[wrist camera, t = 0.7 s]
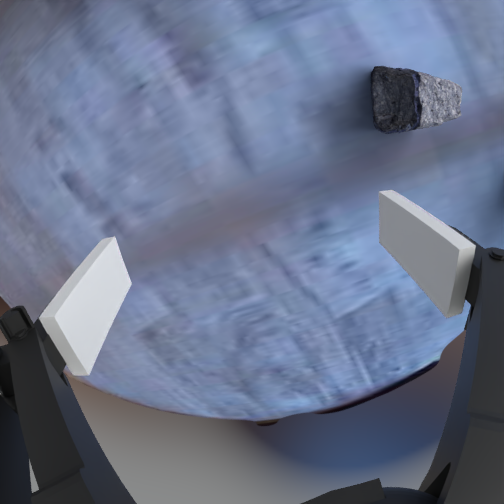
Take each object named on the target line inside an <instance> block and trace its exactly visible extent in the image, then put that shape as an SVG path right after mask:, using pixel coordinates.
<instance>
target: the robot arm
mask: <svg viewBox="0 0 504 504" xmlns="http://www.w3.org/2000/svg"><path fill="white" fill-rule="evenodd" d="M379 243H380V244H381V245H382V246H383V247H384V248H385V249H386V250H387V251H388V252H389V253H390V254H391V256H392V257H393V258H394V259H395V260H396V261H397V262H398V263H399V264H400V265H401V266H402V267H403V269H404V270H405V271H406V272H407V273H408V274H409V275H410V276H411V277H412V279H413V280H414V281H415V282H416V283H417V284H418V285H419V287H420V288H421V289H422V290H423V291H424V292H425V293H426V295H427V296H428V297H429V298H430V299H431V300H432V302H433V303H434V304H435V305H436V306H437V308H438V309H439V310H440V311H441V312H442V314H443V315H444V316H445V317H446V318H449V317H452V316H455V315H458V314H461V313H462V311H463V307H464V303H465V299H466V300H467V301H468V302H469V303H470V304H471V307H470V311H469V314H468V318H467V321H466V325H465V328H464V330H466V337H465V343H464V349H463V354H462V360H461V365H460V370H459V374H458V379H457V383H456V387H455V392H454V396H453V399H452V403H451V407H450V410H449V414H448V417H447V421H446V424H445V427H444V430H443V434H442V437H441V440H440V443H439V445H438V448H437V451H436V454H435V457H434V459H433V462H432V465H431V467H430V469H429V472H428V473H427V475H426V477H425V479H424V480H423V482H422V484H421V486H420V488H419V490H414V489H408V488H400V487H396V488H395V487H385V488H382V486H381V482H380V480H379V478H378V479H375V480H371V481H368V482H365V483H361V484H357V485H353V486H350V487H345V488H341V489H337V490H333V491H330V492H327V493H325V494H323V495H321V496H318V497H316V498H314V499H311V500H309V501H306V502H304V503H301V504H504V250H503V249H499V248H492V247H491V248H486V249H484V248H483V247H481V246H480V245H479V244H477V243H476V242H475V241H473V240H472V239H469V237H468V236H466V235H465V234H463V233H462V232H460V231H459V230H458V229H456V228H454V227H451V226H449V225H446V224H445V223H443V222H442V221H440V220H439V219H437V218H436V217H434V216H433V215H431V214H430V213H428V212H427V211H425V210H424V209H422V208H421V207H419V206H418V205H416V204H414V203H413V202H411V201H410V200H408V199H406V198H405V197H403V196H402V195H400V194H398V193H397V192H395V191H393V190H387V191H379ZM131 284H132V283H131V281H130V278H129V275H128V273H127V270H126V267H125V264H124V262H123V259H122V256H121V253H120V250H119V247H118V244H117V241H116V238H115V237H110V238H105V239H102V240H101V241H100V242H99V243H98V244H97V246H96V247H95V248H94V249H93V250H92V251H91V252H90V254H89V255H88V256H87V257H86V258H85V260H84V261H83V262H82V263H81V264H80V266H79V267H78V268H77V269H76V270H75V272H74V273H73V274H72V275H71V276H70V278H69V279H68V280H67V281H66V283H65V284H64V285H63V287H62V288H61V289H60V290H59V292H58V293H57V294H56V295H55V296H54V297H53V299H52V300H51V301H50V303H49V304H48V305H47V307H46V308H45V310H44V311H43V312H42V313H41V315H40V316H39V317H38V319H37V320H36V322H35V323H34V324H33V322H32V320H31V319H30V317H29V315H28V313H27V311H26V309H25V308H24V306H16V307H14V308H11V309H10V310H8V311H7V312H5V313H4V314H3V315H2V316H1V317H0V329H1V331H2V333H3V334H4V336H5V338H6V339H7V341H8V344H7V345H4V346H0V393H1V395H0V504H136V502H135V501H134V499H133V498H132V496H131V495H130V494H129V492H128V491H127V489H126V488H125V486H124V485H123V483H122V482H121V480H120V479H119V477H118V475H117V474H116V472H115V471H114V469H113V467H112V466H111V464H110V463H109V461H108V459H107V457H106V456H105V454H104V452H103V450H102V449H101V447H100V445H99V443H98V441H97V440H96V438H95V436H94V434H93V432H92V430H91V428H90V426H89V424H88V422H87V420H86V418H85V416H84V414H83V412H82V410H81V408H80V406H79V404H78V401H77V399H76V397H75V395H74V393H73V390H72V388H71V386H70V383H69V381H68V379H67V377H66V375H65V374H64V373H63V369H64V367H65V365H67V366H68V368H69V369H70V371H71V372H72V374H73V375H89V374H90V372H91V370H92V367H93V365H94V363H95V360H96V358H97V356H98V354H99V351H100V349H101V347H102V345H103V342H104V340H105V338H106V336H107V334H108V331H109V329H110V327H111V325H112V323H113V321H114V319H115V317H116V315H117V312H118V310H119V308H120V306H121V304H122V302H123V300H124V298H125V296H126V294H127V292H128V290H129V288H130V286H131ZM29 459H30V462H31V465H32V469H33V472H34V475H35V478H36V481H37V484H38V487H39V490H38V491H36V492H34V493H32V491H31V482H30V469H29Z"/></svg>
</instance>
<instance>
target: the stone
mask: <svg viewBox="0 0 504 504" xmlns="http://www.w3.org/2000/svg"><path fill="white" fill-rule="evenodd" d="M385 76H387V77H388V78H389V80H388V78H386V77H385ZM371 82H372V86H371V92H372V94H373V95H372V101H373V115H374V116H373V118H374V124H375V127H376V129H378V130H379V131H381V132H383V133H385V134H387V133H388V134H389V133H394V132H398V133H400V132H404V131H410V130H415V129H423V128H424V127H425V128H429V127H434V126H439V125H441V124H442V123H443V122H447V121H450V120H453V119H457V118H458V117H460V116H461V112H460V103H461V95H462V88H461V87H460V86H459V85H457V84H456V83H454V82H451V81H450V80H446V79H441V78H437V77H433V76H431V75H429V74H426V73H421V72H416V71H414V70H410V69H407V68H406V69H402V68H396V69H395V68H390V67H386V66H375V67H374V69H373V71H372V72H371ZM416 101H417V102H416ZM376 117H377V118H376Z"/></svg>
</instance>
